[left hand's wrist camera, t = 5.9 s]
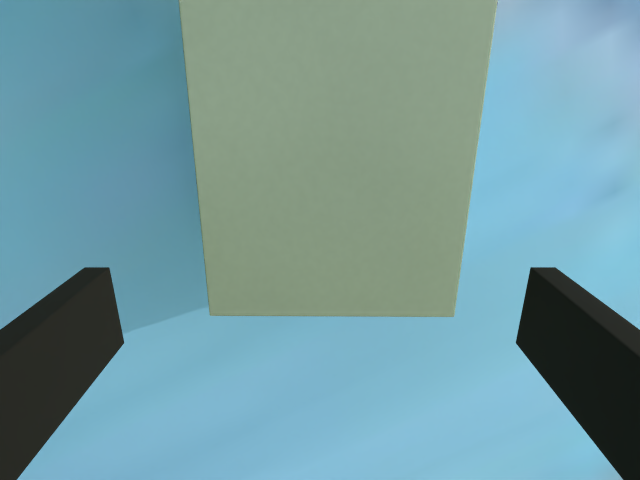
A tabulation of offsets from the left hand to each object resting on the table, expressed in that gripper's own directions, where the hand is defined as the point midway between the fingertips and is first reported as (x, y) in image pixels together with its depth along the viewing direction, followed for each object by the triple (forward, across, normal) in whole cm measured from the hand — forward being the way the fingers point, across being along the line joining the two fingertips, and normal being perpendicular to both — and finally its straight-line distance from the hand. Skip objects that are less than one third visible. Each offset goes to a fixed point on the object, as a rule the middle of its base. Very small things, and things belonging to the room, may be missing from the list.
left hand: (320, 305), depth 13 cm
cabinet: (+15, -1, -6) cm, 17 cm away
